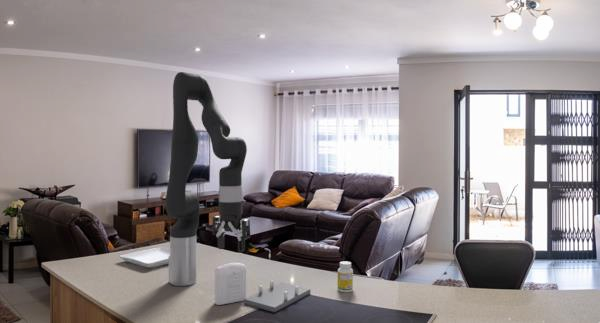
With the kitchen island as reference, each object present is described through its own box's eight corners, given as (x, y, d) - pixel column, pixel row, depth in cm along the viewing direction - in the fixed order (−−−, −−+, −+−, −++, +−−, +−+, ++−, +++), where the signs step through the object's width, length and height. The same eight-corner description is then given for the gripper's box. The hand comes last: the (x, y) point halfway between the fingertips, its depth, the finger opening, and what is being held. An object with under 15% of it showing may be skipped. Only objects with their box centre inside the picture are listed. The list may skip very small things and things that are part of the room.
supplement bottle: (350, 293, 146) (350, 265, 146) (335, 291, 148) (335, 263, 148) (354, 288, 151) (354, 261, 151) (339, 286, 153) (340, 259, 153)
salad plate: (160, 253, 199) (160, 245, 199) (190, 260, 186) (190, 252, 186) (118, 263, 182) (118, 255, 182) (148, 272, 169) (148, 263, 169)
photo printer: (242, 296, 142) (242, 259, 142) (247, 300, 139) (248, 262, 138) (212, 302, 137) (212, 264, 136) (218, 306, 133) (218, 267, 133)
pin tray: (244, 303, 136) (244, 291, 136) (281, 286, 152) (282, 275, 152) (274, 312, 129) (274, 299, 129) (310, 293, 146) (310, 281, 146)
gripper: (255, 200, 136) (255, 250, 136) (222, 197, 144) (223, 245, 144) (239, 202, 129) (239, 255, 130) (206, 199, 137) (206, 249, 138)
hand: (231, 250), depth 137 cm, fingers open, 8 cm apart
